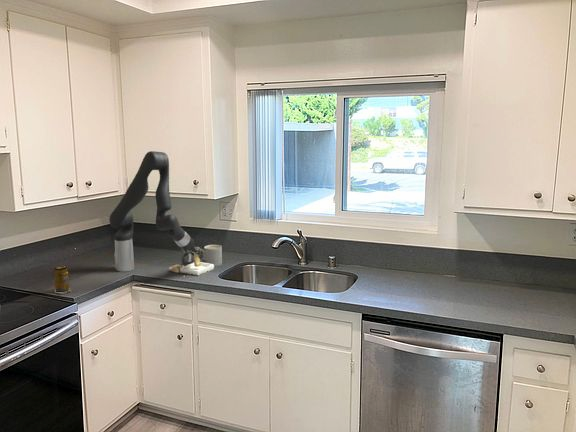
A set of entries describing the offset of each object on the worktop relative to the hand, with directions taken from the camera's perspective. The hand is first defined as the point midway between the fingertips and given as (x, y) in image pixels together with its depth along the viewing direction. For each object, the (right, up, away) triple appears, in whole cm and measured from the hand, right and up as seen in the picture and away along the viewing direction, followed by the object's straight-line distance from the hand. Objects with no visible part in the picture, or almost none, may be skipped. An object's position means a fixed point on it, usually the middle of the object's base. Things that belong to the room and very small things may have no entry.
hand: (199, 257), depth 254 cm
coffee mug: (+4, -5, +13) cm, 14 cm away
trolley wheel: (-8, -6, +7) cm, 12 cm away
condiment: (-59, -14, -33) cm, 69 cm away
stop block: (-12, -7, 0) cm, 14 cm away
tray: (-1, -7, 0) cm, 8 cm away
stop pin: (-1, -5, -1) cm, 5 cm away
